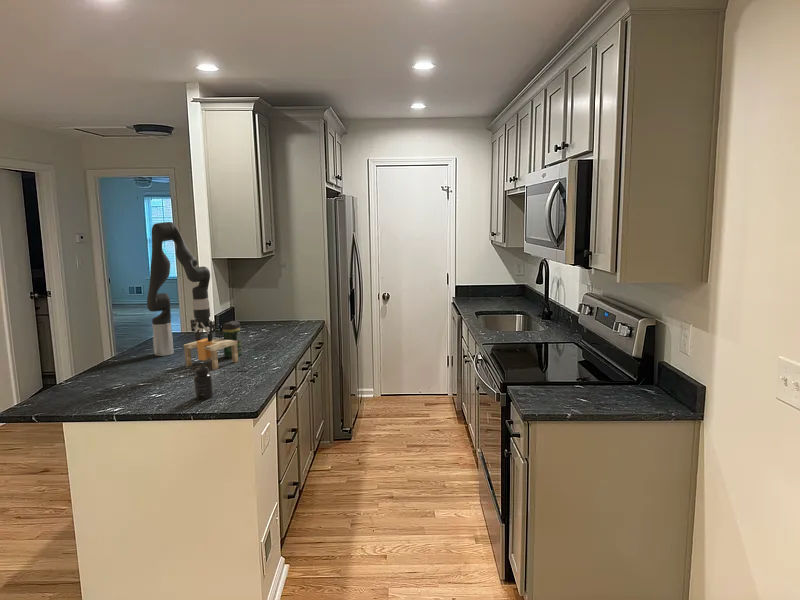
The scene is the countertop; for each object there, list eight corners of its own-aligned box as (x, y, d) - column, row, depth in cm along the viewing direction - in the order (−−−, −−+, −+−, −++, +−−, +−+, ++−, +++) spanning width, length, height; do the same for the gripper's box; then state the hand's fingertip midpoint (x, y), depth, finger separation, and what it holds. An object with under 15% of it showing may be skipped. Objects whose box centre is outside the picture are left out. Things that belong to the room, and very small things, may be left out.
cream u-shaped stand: (185, 365, 266) (183, 344, 264) (209, 358, 280) (207, 338, 278) (215, 369, 257) (213, 347, 255) (238, 361, 271) (237, 340, 270)
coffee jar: (236, 358, 278) (233, 323, 275) (222, 358, 279) (219, 323, 276) (244, 353, 287) (242, 319, 284) (231, 353, 289) (228, 319, 286)
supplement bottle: (198, 395, 219) (195, 366, 217) (215, 394, 220) (213, 365, 218) (193, 400, 212) (190, 371, 211) (210, 399, 213) (208, 370, 211)
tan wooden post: (198, 359, 263) (196, 341, 261) (207, 356, 268) (205, 338, 266) (204, 360, 261) (202, 341, 260) (213, 357, 266) (211, 338, 264)
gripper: (184, 308, 261) (187, 341, 263) (206, 309, 254) (209, 343, 257) (196, 306, 267) (199, 338, 270) (218, 307, 261) (220, 340, 263)
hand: (204, 340), depth 263 cm, fingers open, 7 cm apart
